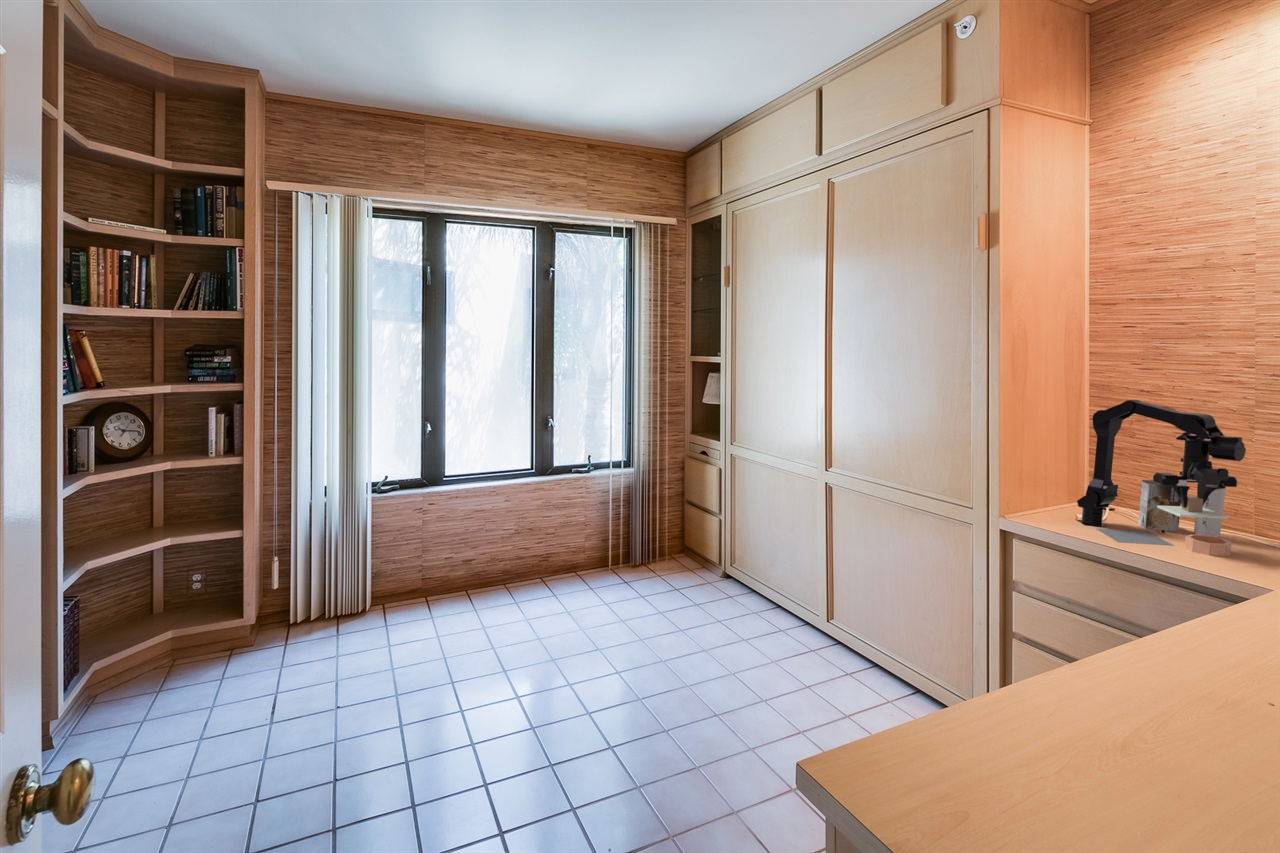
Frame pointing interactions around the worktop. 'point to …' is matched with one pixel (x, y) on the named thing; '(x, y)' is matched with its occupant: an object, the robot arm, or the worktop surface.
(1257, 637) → the worktop surface
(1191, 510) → the lid
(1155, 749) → the worktop surface
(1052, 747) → the worktop surface
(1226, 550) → the bowl
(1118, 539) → the mat
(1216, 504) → the travel mug
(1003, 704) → the worktop surface
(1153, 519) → the coffee box
